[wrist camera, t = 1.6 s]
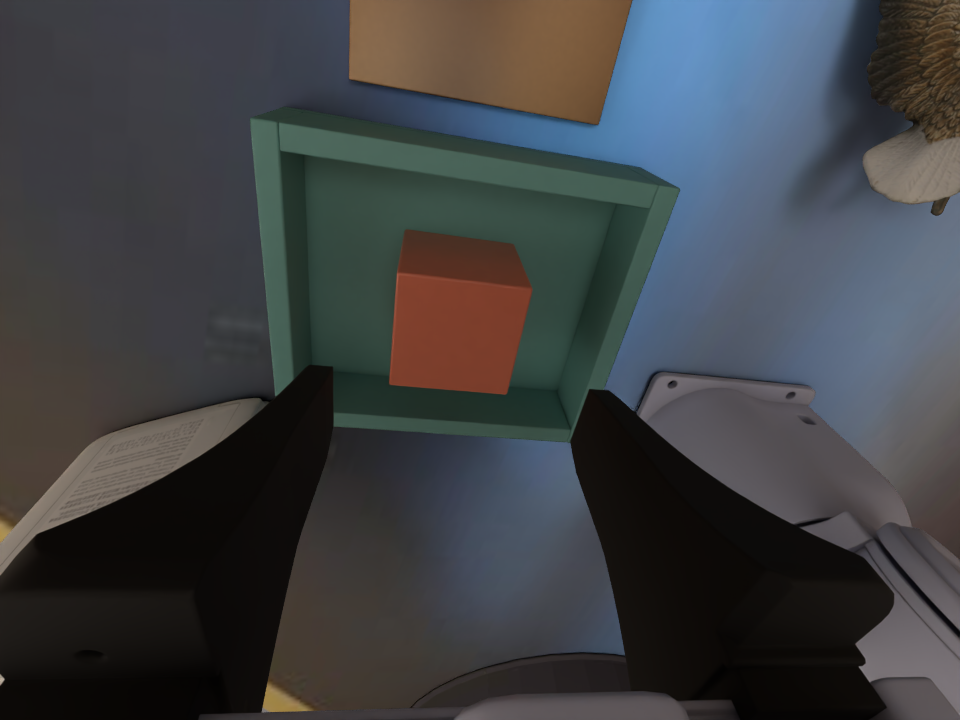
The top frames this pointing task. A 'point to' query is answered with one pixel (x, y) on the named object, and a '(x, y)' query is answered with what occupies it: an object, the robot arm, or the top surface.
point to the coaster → (492, 51)
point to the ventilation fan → (534, 679)
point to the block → (457, 313)
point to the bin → (458, 212)
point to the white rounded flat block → (127, 466)
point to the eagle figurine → (918, 101)
